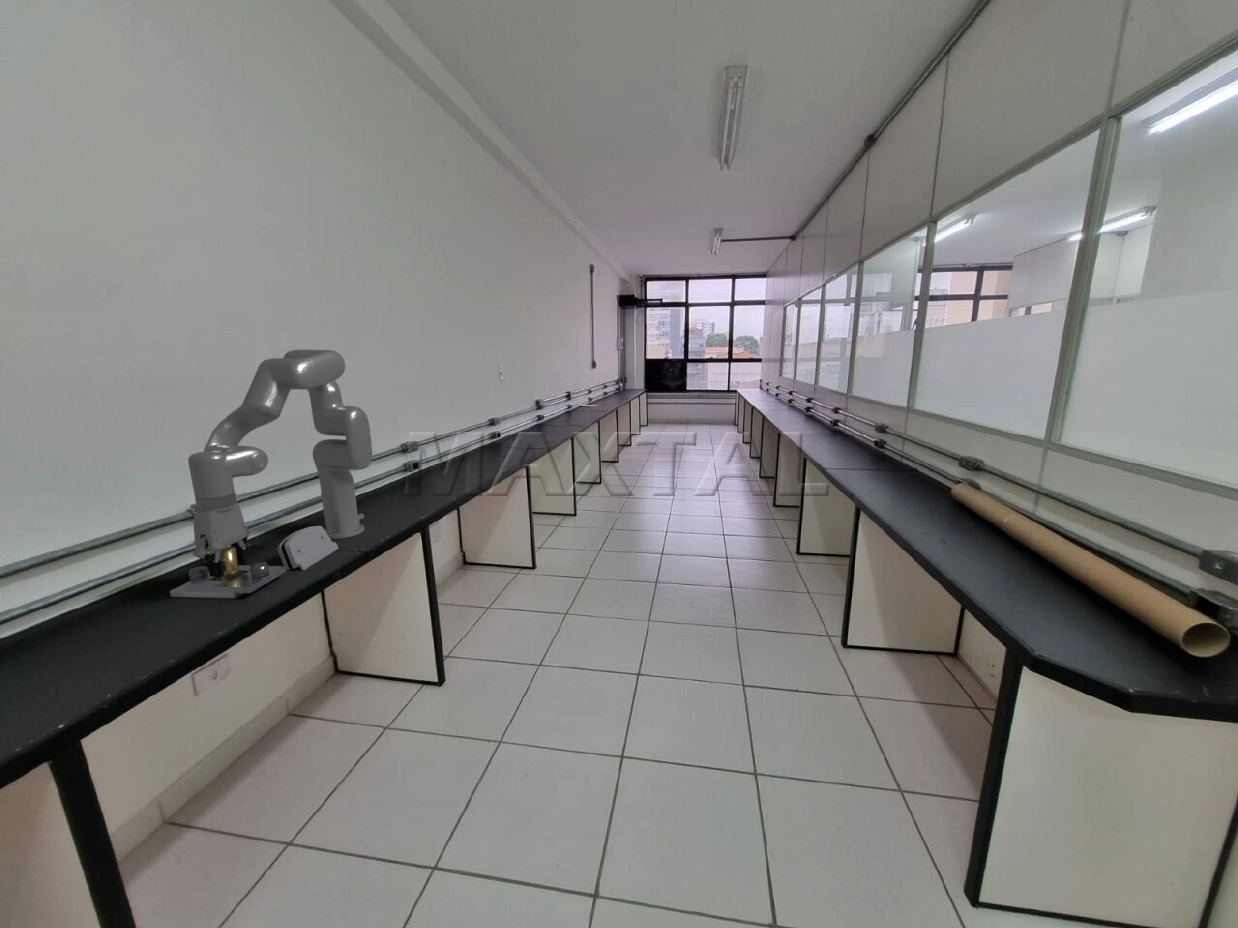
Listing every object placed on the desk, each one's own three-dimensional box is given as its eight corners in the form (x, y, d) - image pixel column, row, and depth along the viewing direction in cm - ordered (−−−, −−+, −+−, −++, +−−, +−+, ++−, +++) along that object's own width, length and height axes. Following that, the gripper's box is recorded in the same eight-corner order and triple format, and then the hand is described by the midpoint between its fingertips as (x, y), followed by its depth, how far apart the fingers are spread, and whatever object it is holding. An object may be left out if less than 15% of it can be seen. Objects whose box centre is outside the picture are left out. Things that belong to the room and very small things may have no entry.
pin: (230, 582, 123) (224, 546, 121) (245, 582, 123) (239, 546, 121) (217, 589, 119) (210, 552, 117) (232, 590, 119) (226, 552, 117)
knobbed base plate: (213, 575, 127) (210, 554, 126) (286, 576, 126) (283, 555, 125) (170, 596, 115) (166, 573, 114) (251, 598, 115) (247, 575, 113)
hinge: (302, 571, 130) (285, 538, 128) (287, 576, 130) (270, 543, 128) (339, 547, 146) (324, 518, 144) (325, 552, 147) (311, 523, 145)
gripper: (231, 492, 125) (242, 556, 128) (167, 512, 108) (182, 585, 112) (258, 492, 124) (269, 557, 128) (199, 513, 107) (213, 586, 111)
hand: (228, 569), depth 120 cm, fingers open, 6 cm apart
